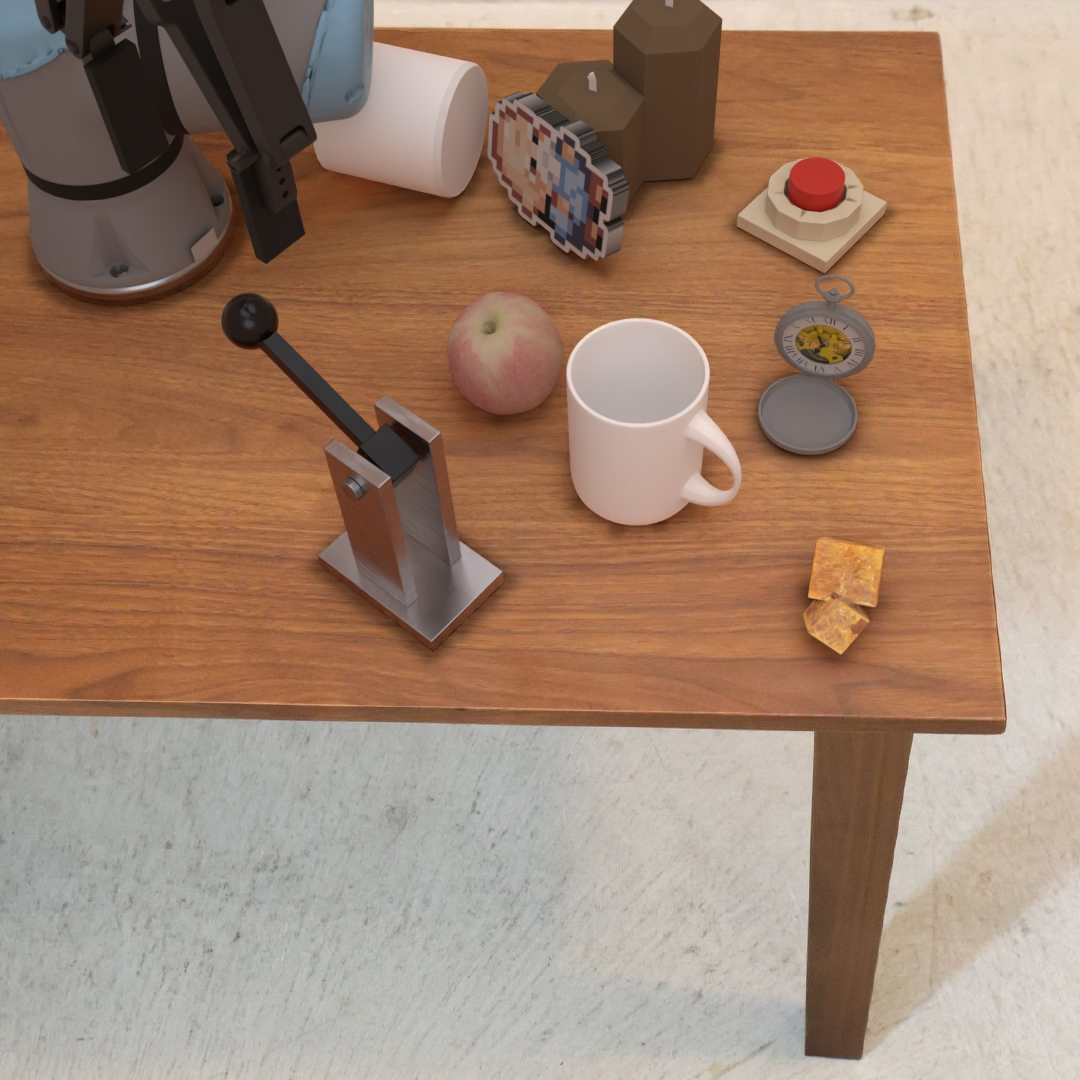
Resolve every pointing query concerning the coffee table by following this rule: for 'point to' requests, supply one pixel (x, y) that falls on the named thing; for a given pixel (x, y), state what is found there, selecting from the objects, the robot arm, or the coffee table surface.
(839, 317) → the pocket watch
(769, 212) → the housing
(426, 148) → the white cylinder
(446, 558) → the bracket
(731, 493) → the mug
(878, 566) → the pyrite
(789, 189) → the button
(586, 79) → the candle
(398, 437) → the lever
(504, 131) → the toy
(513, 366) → the apple
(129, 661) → the coffee table surface
